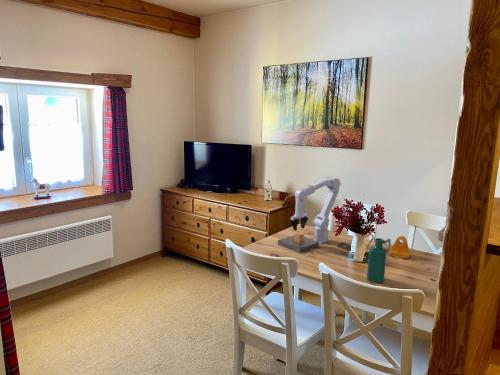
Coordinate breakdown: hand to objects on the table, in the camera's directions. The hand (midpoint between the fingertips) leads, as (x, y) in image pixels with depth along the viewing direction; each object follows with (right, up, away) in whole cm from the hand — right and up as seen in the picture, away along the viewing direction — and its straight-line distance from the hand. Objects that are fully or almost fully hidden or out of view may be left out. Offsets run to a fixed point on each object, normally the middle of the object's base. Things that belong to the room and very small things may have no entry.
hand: (298, 229), depth 246 cm
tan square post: (0, -11, 0) cm, 11 cm away
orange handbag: (+60, -15, -13) cm, 63 cm away
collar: (0, -11, 0) cm, 11 cm away
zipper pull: (+33, -16, -19) cm, 41 cm away
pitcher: (+34, -21, -49) cm, 63 cm away
